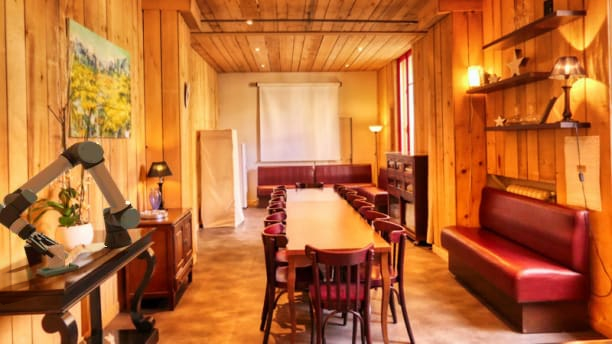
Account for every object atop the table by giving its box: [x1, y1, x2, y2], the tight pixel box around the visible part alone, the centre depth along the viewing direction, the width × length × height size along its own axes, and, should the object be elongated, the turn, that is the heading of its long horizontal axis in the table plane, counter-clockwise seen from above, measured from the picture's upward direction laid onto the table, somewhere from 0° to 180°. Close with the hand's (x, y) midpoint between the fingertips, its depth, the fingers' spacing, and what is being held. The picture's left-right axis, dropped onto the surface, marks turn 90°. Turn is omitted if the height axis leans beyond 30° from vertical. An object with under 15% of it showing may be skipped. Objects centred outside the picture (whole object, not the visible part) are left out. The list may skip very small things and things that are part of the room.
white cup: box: [45, 243, 66, 269], centre depth 220 cm, size 8×8×10 cm
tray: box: [36, 262, 80, 279], centre depth 220 cm, size 14×14×2 cm
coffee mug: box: [23, 243, 44, 266], centre depth 246 cm, size 12×9×10 cm
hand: (63, 258), depth 220 cm, fingers closed on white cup, 8 cm apart
